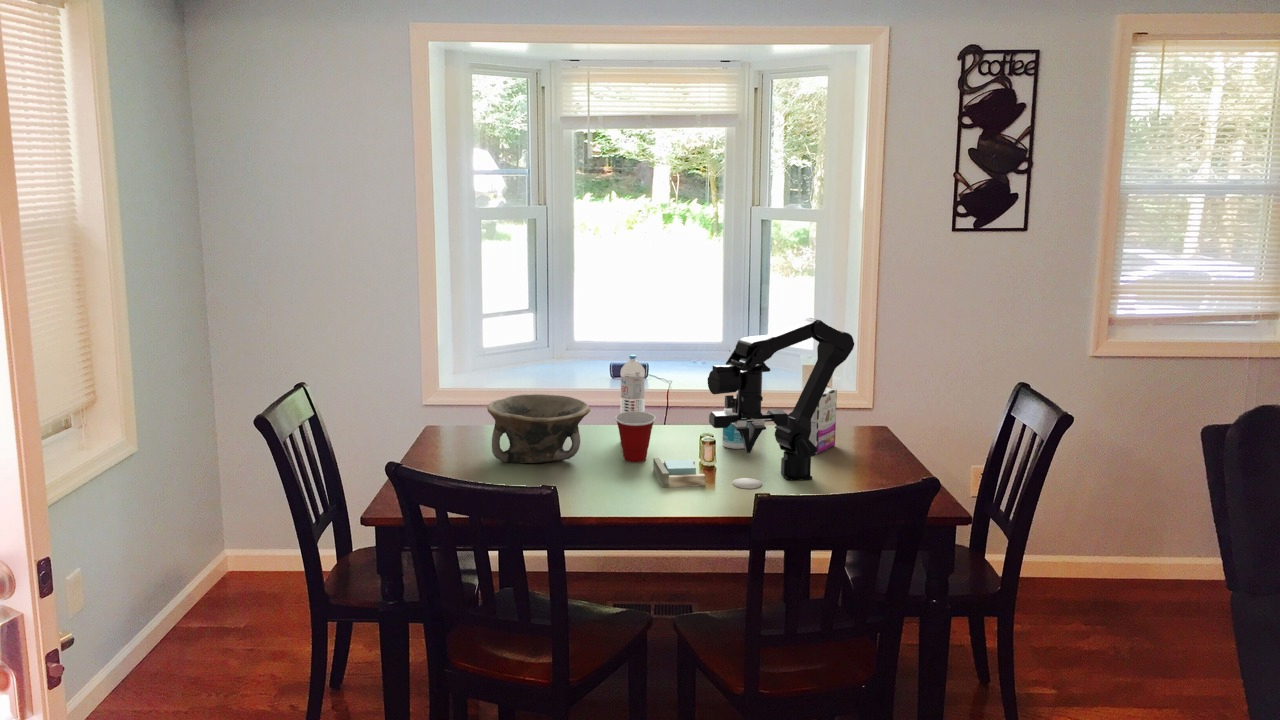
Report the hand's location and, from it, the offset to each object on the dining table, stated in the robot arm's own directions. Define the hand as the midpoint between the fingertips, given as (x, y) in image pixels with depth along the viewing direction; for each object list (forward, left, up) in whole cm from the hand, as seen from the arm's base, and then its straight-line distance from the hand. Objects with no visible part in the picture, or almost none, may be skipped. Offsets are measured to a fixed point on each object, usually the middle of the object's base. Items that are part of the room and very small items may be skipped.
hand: (748, 452), depth 238 cm
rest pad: (0, 0, -8) cm, 8 cm away
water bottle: (+22, -41, -8) cm, 47 cm away
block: (+16, -7, -8) cm, 19 cm away
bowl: (+49, -29, -8) cm, 58 cm away
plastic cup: (+24, -24, -8) cm, 35 cm away
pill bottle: (-6, -33, -8) cm, 35 cm away
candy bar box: (-28, -27, -8) cm, 40 cm away
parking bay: (+15, -7, -8) cm, 18 cm away
